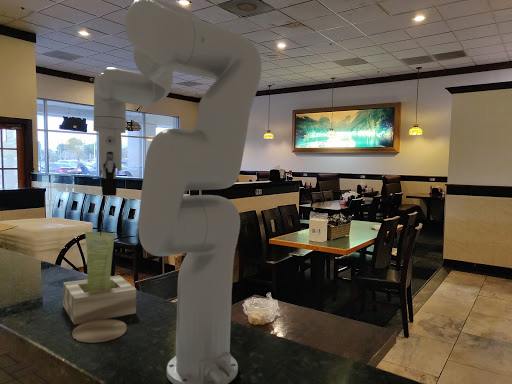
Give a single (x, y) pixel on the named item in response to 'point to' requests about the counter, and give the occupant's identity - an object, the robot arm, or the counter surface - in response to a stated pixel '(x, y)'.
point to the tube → (99, 260)
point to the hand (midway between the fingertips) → (108, 194)
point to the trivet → (99, 331)
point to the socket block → (98, 300)
